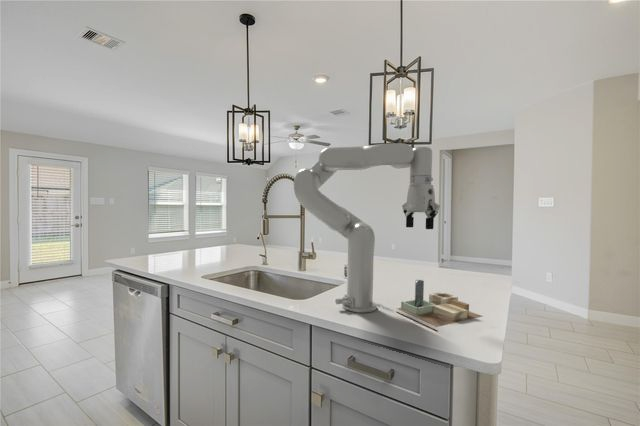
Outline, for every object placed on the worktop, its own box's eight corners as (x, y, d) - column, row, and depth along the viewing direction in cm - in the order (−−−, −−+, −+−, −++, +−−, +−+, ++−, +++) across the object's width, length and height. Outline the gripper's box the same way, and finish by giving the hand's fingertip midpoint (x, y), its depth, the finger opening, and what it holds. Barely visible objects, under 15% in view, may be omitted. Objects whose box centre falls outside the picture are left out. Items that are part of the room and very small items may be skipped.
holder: (444, 310, 107) (444, 299, 107) (428, 304, 113) (429, 293, 113) (457, 307, 110) (458, 296, 110) (442, 302, 116) (442, 291, 116)
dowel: (418, 310, 104) (419, 282, 104) (413, 308, 107) (413, 280, 107) (424, 309, 106) (425, 281, 105) (418, 307, 108) (419, 279, 108)
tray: (417, 315, 101) (417, 308, 101) (401, 308, 107) (401, 301, 107) (436, 312, 105) (436, 304, 105) (420, 305, 112) (420, 298, 112)
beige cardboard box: (452, 321, 96) (453, 313, 96) (433, 313, 104) (433, 305, 103) (467, 317, 100) (467, 310, 100) (447, 310, 107) (447, 303, 107)
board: (436, 331, 92) (436, 313, 92) (396, 312, 108) (396, 297, 108) (482, 320, 102) (483, 304, 102) (439, 304, 118) (440, 290, 118)
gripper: (447, 180, 104) (445, 229, 104) (411, 183, 119) (409, 226, 120) (431, 179, 101) (430, 230, 101) (396, 182, 116) (395, 226, 116)
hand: (419, 228), depth 110 cm, fingers open, 9 cm apart
